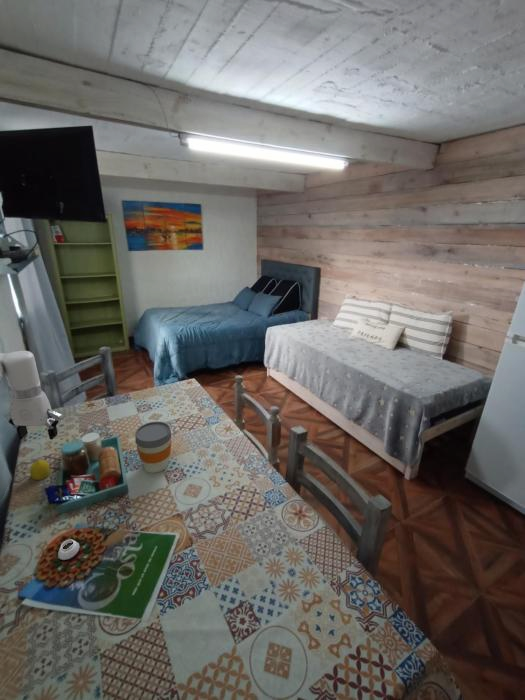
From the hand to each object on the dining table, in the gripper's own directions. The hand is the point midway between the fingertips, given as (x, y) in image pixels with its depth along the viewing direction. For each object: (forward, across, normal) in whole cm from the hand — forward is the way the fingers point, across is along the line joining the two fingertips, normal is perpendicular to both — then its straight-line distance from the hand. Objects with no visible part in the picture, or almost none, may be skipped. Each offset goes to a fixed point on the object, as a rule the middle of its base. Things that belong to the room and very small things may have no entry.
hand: (38, 436), depth 103 cm
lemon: (+18, -3, 0) cm, 19 cm away
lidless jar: (+18, +21, -26) cm, 38 cm away
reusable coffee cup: (+18, +34, +9) cm, 40 cm away
